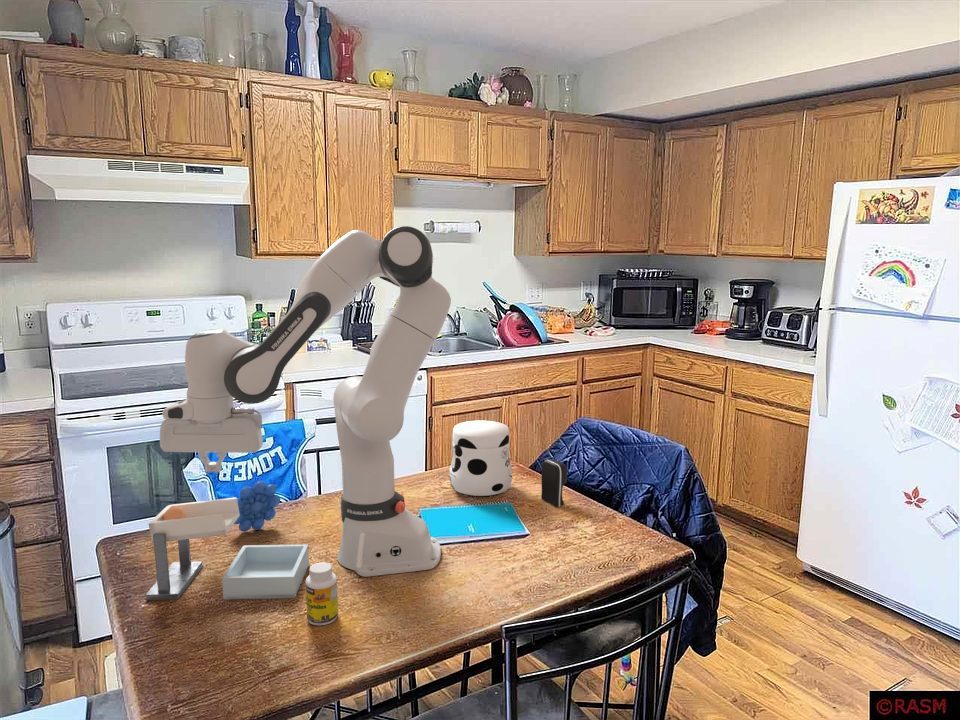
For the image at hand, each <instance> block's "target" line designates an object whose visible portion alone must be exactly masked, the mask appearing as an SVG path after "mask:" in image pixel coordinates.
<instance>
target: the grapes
mask: <svg viewBox="0 0 960 720" xmlns="http://www.w3.org/2000/svg"><path fill="white" fill-rule="evenodd" d="M276 493H277V486H276V485H275V484H273V483H272V484H268V485H267V484H266V482H265V481H264V480H259V481H256V482H255V483H254V484H253V487H251V486H249V485H248V486H244V487H243V488H242V489H241V490H240V492H239V498H237V502H238V508H239V513H240V516H239V517H238V519H237V520H236V521H235V523H234V524H233V526H234V525H238V529H239V531H240V532H243V533H244V532H247V531H249V530H250V529H251V528H252V529H253V530H254V531H258V530H260V529H262V528H263V527H264V525H265V523H266V522H265V521H271V520H273V519H274V518H275V516H276V514H277V512H276V511H277V510H276V507H278V506H279V505H280V503H281V497H280V495H278V494H276Z"/></svg>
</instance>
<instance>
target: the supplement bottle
mask: <svg viewBox="0 0 960 720" xmlns="http://www.w3.org/2000/svg"><path fill="white" fill-rule="evenodd" d="M305 578H306V579H305V601H306V619H307V621H308V622H309V624H312V625H313V626H326V625H329V624H331V623H333V622H335V620H336V619H337V618H338V617H339V616H338V615H339V608H338V607H339V604H338V578H337V575H336V574H335V572H333V566H332V564H331V563H329V562H325V561H322V562H317V563H313V564H312V565H311V566H310V567H309V575H308V576H307V577H305Z"/></svg>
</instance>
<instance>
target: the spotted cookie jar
mask: <svg viewBox="0 0 960 720" xmlns="http://www.w3.org/2000/svg"><path fill="white" fill-rule="evenodd" d="M510 434H511V433H510V427H508V426H507V424H504V423H502V422H500V421H494V420H479V419H478V420H469V421H464V422H458V423H457V424H456V425H454V427H453V429H452V459H451V462H450V467H449V472H448V473H449V475H448V477H449V483H450V486H451V488H452V490H453V491H454V492H456V493H458V495H461V496H465V497H469V498H476V499H477V498H478V499H479V498H482V499H483V498H484V499H485V498H487V499H488V498H493V497H497V496H500V495H503V494H504V493H505V492H507V491H509V489H510V488H511V485H512V481H513V467H512V465H511V459H510V448H511V447H510V437H511V436H510Z"/></svg>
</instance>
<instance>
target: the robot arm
mask: <svg viewBox="0 0 960 720" xmlns="http://www.w3.org/2000/svg"><path fill="white" fill-rule="evenodd" d="M433 265H434V253H433V249H432V244H431V242H430V240H429V238H428V237H427V236H426V235H425V234H424V232H423V231H421V230H419V229H418V228H416V227H413V226H409V225H401V226H398V227H395V228H392V229H391V230H389V231H388V232H386V234H385V235H384V237H383V239H381V240H378V239H376V238H375V237H374V236H373V235H371V234H370V233H368V232H366V231H363V230H361V229H353V230H350V231H349V232H347V233H345V234H344V235H342V236H341V237H340V238H339V239H337V240H336V241H335V242H333V244H332V245H330V246H329V247H328V248H327V249H326V250H325V251H324V252H323V253H322V254H321V255H320V256H319V257H318V258H317V259H316V260H315V261H314V263H313V264H312V265H311V266H310V267H309V269H308V270H307V272H306V273H305V274H304V276H303V278H302V279H301V281H300V283H299V284H298V288H297V291H296V293H295V297H294V299H293V302H292V305H291V307H290V308H289V310H288V312H287V313H286V315H285V316H284V317H283V318H282V319H281V321H280V322H279V323H278V324H277V325H276V326H275V327H274V329H273V330H272V331H271V332H270V333H268V335H267V336H266V337H265V338H264V339H263V340H262V341H261V342H260V344H258V343H255V342H251V341H246V340H244V339H241V338H239V337H237V336H235V335H233V334H231V333H229V331H227V330H225V329H222V328H213V329H207V330H203V331H202V330H201V331H199V332H196V333H194V334H193V335H191V336H190V337H189V338H188V340H187V342H186V345H185V352H184V353H185V354H184V368H185V377H186V380H187V385H188V386H187V390H186V398H185V399H183V400H180V401H176V402H174V403H172V404H170V405H168V406H167V407H165V408H164V409H163V410H162V417H163V419H164V420H163V421H162V422H161V424H160V430H159V448H160V449H161V450H162V451H163V452H164V453H198V458H199V460H200V461H201V462H202V464H203V465H204V473H220V472H221V471H222V469H223V467H222V466H223V465H222V463H223V461H224V459H225V458H226V456H227V453H239V454H240V453H241V454H242V453H244V454H245V453H246V454H248V453H250V454H252V453H257V452H258V451H260V449H261V448H262V447H263V445H264V443H263V441H264V439H263V433H262V425H263V417H262V414H261V413H260V412H259V411H258V410H256V409H255V408H253V407H248V408H243V407H234V399H235V400H237V401H239V402H240V403H244V404H248V405H253V404H259V403H263V402H264V401H266V400H268V399H270V398H271V397H272V396H273V395H274V394H275V393H276V391H277V389H278V386H279V383H280V380H281V377H282V373H283V371H284V370H285V367H286V366H287V365H288V364H289V362H290V361H291V360H292V359H293V358H294V356H295V355H296V354H297V353H298V351H299V350H301V348H302V347H303V346H304V345H305V344H306V342H307V341H308V340H309V339H310V338H311V337H312V335H314V333H315V332H316V331H318V329H320V328H321V327H322V326H324V325H325V324H326V323H327V322H329V321H330V320H331V319H332V318H334V317H335V316H336V315H338V313H340V312H342V310H344V308H346V307H347V306H348V305H349V304H350V303H351V302H352V301H353V300H354V299H355V298H356V297H357V296H358V295H359V294H360V293H361V292H362V291H363V289H364V288H365V287H366V286H367V285H368V284H369V283H370V282H371V281H372V280H374V279H376V278H379V279H381V280H383V281H386V282H388V283H390V284H392V285H394V286H396V287H398V288H400V289H399V291H400V292H399V297H398V299H397V301H396V303H395V305H394V307H393V308H392V311H391V312H390V313H389V315H388V316H387V319H386V321H385V322H384V324H383V326H382V328H381V329H380V331H379V332H378V334H377V336H376V338H375V340H374V341H373V343H372V345H371V347H370V350H369V351H370V353H369V357H368V361H367V364H366V366H365V369H364V372H363V375H362V376H350V377H346V378H345V379H343V380H341V381H340V382H339V383H338V385H336V387H335V389H334V392H333V407H334V414H335V426H336V434H337V440H338V446H339V452H340V461H341V477H342V478H341V480H342V481H341V482H342V494H341V497H340V517H341V522H342V531H341V539H340V545H339V550H338V554H337V555H336V556H337V561H338V563H339V564H340V565H341V566H343V567H344V568H346V569H349V570H352V571H354V572H356V573H357V575H359V576H361V577H364V578H365V577H375V576H383V575H392V574H401V573H408V572H409V573H412V572H418V571H419V572H420V571H427V570H432V569H433V568H435V567H437V565H438V564H439V563H440V560H441V558H442V557H441V554H442V550H441V549H442V548H441V544H440V542H439V541H438V539H436V538H435V537H434V536H431V535H430V530H429V527H428V525H427V522H426V521H425V520H424V519H423V518H421V517H419V515H416V514H414V513H413V512H412V511H410V510H409V509H407V508H406V503H405V497H404V493H403V491H401V494H400V493H399V492H397V491H396V490H395V487H396V486H395V458H394V454H393V451H392V447H391V442H390V441H392V440H393V439H395V437H397V435H399V434H400V431H402V428H403V425H404V420H405V415H404V414H405V409H406V406H407V403H408V400H409V397H410V394H411V391H412V387H413V385H414V383H415V380H416V377H417V374H418V373H419V370H420V368H421V367H422V365H423V362H424V361H425V360H426V358H427V356H428V354H429V352H430V350H431V349H432V347H433V345H434V343H435V341H436V339H437V338H438V336H439V334H440V332H441V330H442V328H443V326H444V323H445V321H446V319H447V316H448V314H449V311H450V307H451V303H452V297H451V295H450V293H449V291H448V290H447V288H446V287H444V285H443V284H441V283H440V282H438V281H436V280H435V278H433ZM209 453H216V458H218V459H217V461H211V460H210V458H209V456H208V455H209Z"/></svg>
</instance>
